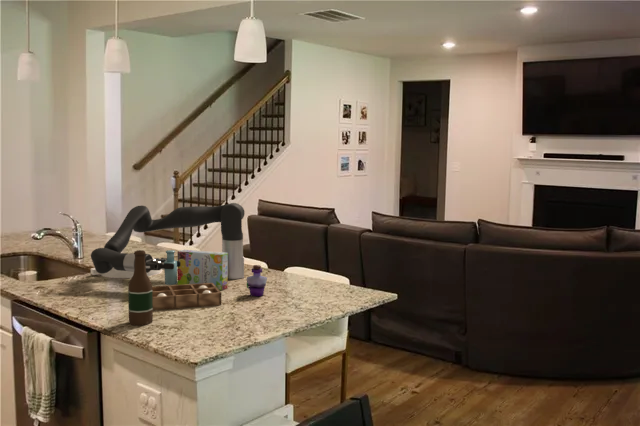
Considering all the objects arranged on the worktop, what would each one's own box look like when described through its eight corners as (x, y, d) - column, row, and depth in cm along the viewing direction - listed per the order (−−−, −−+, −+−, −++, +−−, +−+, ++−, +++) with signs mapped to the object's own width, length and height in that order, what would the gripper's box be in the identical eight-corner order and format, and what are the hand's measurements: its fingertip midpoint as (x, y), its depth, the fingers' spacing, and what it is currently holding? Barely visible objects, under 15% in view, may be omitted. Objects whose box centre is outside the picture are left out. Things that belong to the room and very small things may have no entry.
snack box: (228, 288, 249) (228, 252, 247) (221, 291, 243) (221, 254, 242) (183, 283, 255) (183, 248, 254) (176, 286, 250) (176, 250, 248)
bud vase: (176, 281, 240) (175, 249, 239) (177, 284, 236) (177, 251, 235) (164, 282, 239) (163, 250, 237) (165, 285, 234) (164, 252, 233)
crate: (212, 294, 237) (212, 282, 237) (221, 304, 221) (221, 292, 221) (146, 298, 228) (146, 286, 228) (150, 310, 212) (150, 297, 212)
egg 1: (166, 302, 221) (166, 291, 220) (168, 305, 217) (168, 294, 217) (155, 303, 219) (155, 292, 219) (156, 305, 216) (156, 294, 215)
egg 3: (211, 299, 227) (211, 288, 226) (213, 301, 223) (213, 291, 222) (200, 299, 225) (200, 289, 225) (202, 302, 221) (202, 291, 221)
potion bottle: (243, 293, 239) (243, 264, 238) (263, 291, 243) (264, 262, 241) (249, 298, 231) (249, 268, 230) (270, 296, 235) (270, 266, 234)
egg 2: (207, 294, 234) (207, 284, 234) (209, 296, 230) (209, 286, 230) (197, 294, 233) (197, 284, 232) (198, 297, 229) (198, 286, 229)
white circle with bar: (171, 267, 290) (171, 258, 289) (149, 280, 262) (148, 269, 262) (115, 265, 292) (115, 256, 292) (87, 277, 265) (87, 267, 264)
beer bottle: (131, 319, 201) (130, 248, 198) (155, 319, 202) (154, 248, 199) (125, 326, 193) (124, 252, 191) (150, 326, 194) (149, 253, 191)
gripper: (128, 256, 233) (167, 259, 229) (147, 250, 246) (185, 252, 242) (128, 275, 233) (168, 278, 229) (147, 268, 247) (185, 271, 243)
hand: (176, 265), depth 236 cm, fingers closed on bud vase, 4 cm apart
